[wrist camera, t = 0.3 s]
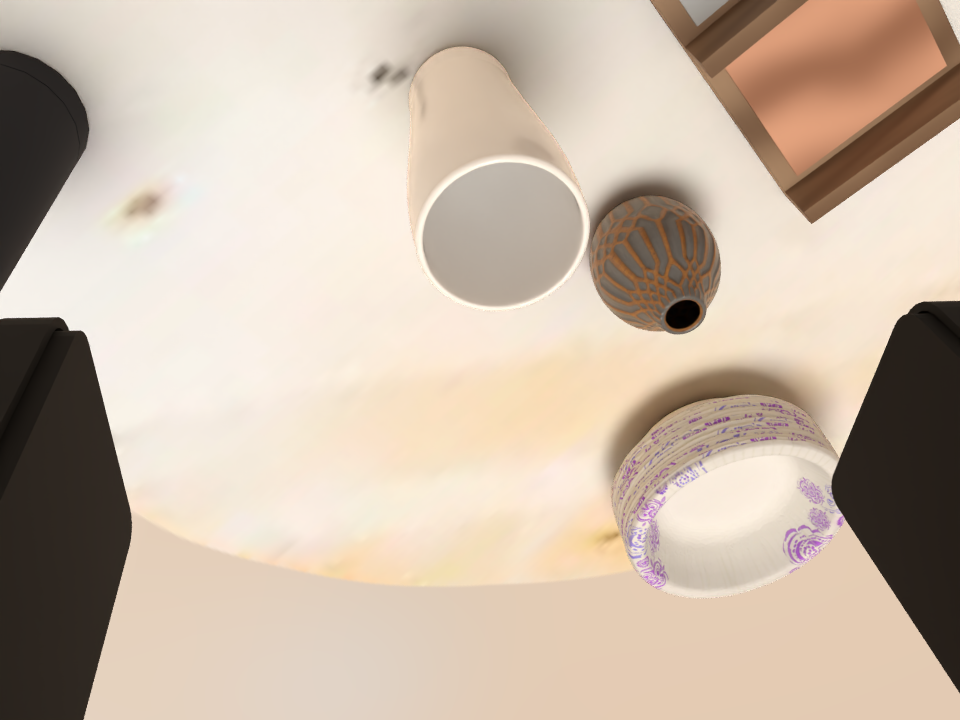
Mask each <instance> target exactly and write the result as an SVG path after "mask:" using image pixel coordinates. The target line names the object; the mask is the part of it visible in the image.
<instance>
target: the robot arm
mask: <svg viewBox="0 0 960 720" xmlns="http://www.w3.org/2000/svg"><path fill="white" fill-rule="evenodd" d="M831 489H832V495H833V499H834V501H835V503H836V505H837V507H838V509H839V510H840V512H841V513H842V515H843V516H844V518H845V519H846V521H847V522H848V524H849V525H850V527H851V528H852V530H853V531H854V533H855V535H856V536H857V538H858V539H859V541H860V542H861V544H862V545H863V547H864V548H865V550H866V551H867V553H868V554H869V556H870V557H871V559H872V560H873V562H874V563H875V565H876V566H877V568H878V570H879V571H880V573H881V574H882V576H883V577H884V578H885V580H886V582H887V583H888V585H889V586H890V587H891V589H892V591H893V592H894V594H895V595H896V597H897V598H898V600H899V601H900V603H901V604H902V606H903V608H904V609H905V611H906V612H907V614H908V615H909V617H910V618H911V620H912V621H913V623H914V624H915V626H916V627H917V629H918V630H919V632H920V633H921V635H922V636H923V638H924V639H925V641H926V642H927V644H928V645H929V647H930V649H931V650H932V651H933V653H934V655H935V656H936V658H937V659H938V661H939V662H940V664H941V665H942V667H943V668H944V670H945V671H946V673H947V674H948V676H949V677H950V679H951V681H952V682H953V684H954V685H955V686H956V688H957V689H958V691H959V693H960V301H936V302H921V303H918V304H916V305H915V306H914V307H913V308H912V309H910V311H909V313H908V314H906V315H903V316H902V317H901V318H900V319H899V320H898V321H897V323H896V325H895V327H894V329H893V331H892V334H891V336H890V339H889V341H888V343H887V346H886V348H885V351H884V353H883V355H882V358H881V360H880V363H879V365H878V367H877V370H876V372H875V375H874V377H873V379H872V382H871V384H870V387H869V389H868V392H867V394H866V396H865V399H864V401H863V404H862V406H861V408H860V411H859V413H858V416H857V418H856V420H855V423H854V425H853V428H852V430H851V432H850V435H849V437H848V440H847V442H846V444H845V447H844V449H843V452H842V454H841V457H840V459H839V461H838V464H837V466H836V469H835V471H834V473H833V477H832V482H831ZM131 532H132V521H131V511H130V507H129V503H128V499H127V495H126V491H125V487H124V483H123V479H122V475H121V471H120V467H119V463H118V459H117V455H116V451H115V447H114V443H113V438H112V434H111V430H110V426H109V422H108V418H107V414H106V410H105V406H104V402H103V398H102V394H101V390H100V386H99V382H98V378H97V374H96V370H95V366H94V362H93V358H92V354H91V350H90V346H89V343H88V340H87V337H86V335H85V334H84V332H82V331H69V329H68V326H67V325H66V323H65V322H64V320H63V319H61V318H59V317H52V318H4V319H0V720H83V719H84V715H85V711H86V708H87V704H88V700H89V697H90V693H91V689H92V685H93V682H94V678H95V674H96V670H97V667H98V663H99V659H100V655H101V651H102V647H103V644H104V640H105V636H106V633H107V629H108V625H109V621H110V617H111V613H112V610H113V606H114V602H115V599H116V595H117V591H118V587H119V584H120V580H121V576H122V572H123V568H124V565H125V560H126V557H127V553H128V549H129V546H130V541H131Z"/></svg>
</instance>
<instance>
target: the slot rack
mask: <svg viewBox="0 0 960 720" xmlns="http://www.w3.org/2000/svg"><path fill="white" fill-rule="evenodd" d="M650 1H651V3H652V4H653V5H654V7H655V8H656V10H657V11H658V13H659V14H660V15H661V17H662V18H663V20H664V21H665V23H666V24H667V26H668V27H669V28H670V30H671V31H672V33H673V34H674V36H675V37H676V39H677V40H678V41H679V43H680V44H681V46H682V47H683V49H684V50H685V52H686V53H687V54H688V56H689V57H690V59H691V60H692V62H693V63H694V65H695V66H696V67H697V69H698V70H699V72H700V73H701V75H702V76H703V77H704V79H705V80H706V82H707V83H708V85H709V86H710V88H711V89H712V90H713V92H714V93H715V95H716V96H717V98H718V99H719V101H720V102H721V103H722V105H723V106H724V108H725V109H726V111H727V112H728V114H729V115H730V116H731V118H732V119H733V121H734V122H735V124H736V125H737V127H738V128H739V129H740V131H741V132H742V134H743V135H744V137H745V138H746V140H747V141H748V142H749V144H750V145H751V147H752V148H753V150H754V151H755V152H756V154H757V155H758V157H759V158H760V160H761V161H762V163H763V164H764V165H765V167H766V168H767V170H768V171H769V173H770V174H771V176H772V177H773V178H774V180H775V181H776V183H777V184H778V186H779V187H780V189H781V190H782V191H783V193H784V194H785V196H786V197H787V198H788V199H789V200H790V201H791V202H792V203H793V204H794V205H795V207H796V208H797V209H798V210H799V211H800V212H801V213H802V214H803V215H804V216H805V217H806V218H807V220H808V221H809V222H810V223H811V224H812V223H814V222H815V221H817V220H818V219H819V218H821V217H822V216H824V215H825V214H826V213H828V212H829V211H831V210H832V209H833V208H835V207H836V206H838V205H839V204H840V203H842V202H843V201H845V200H846V199H847V198H849V197H850V196H852V195H853V194H854V193H856V192H857V191H859V190H860V189H861V188H863V187H864V186H866V185H867V184H868V183H870V182H871V181H873V180H874V179H875V178H877V177H878V176H880V175H881V174H882V173H884V172H885V171H887V170H888V169H889V168H891V167H892V166H894V165H895V164H896V163H898V162H899V161H901V160H902V159H903V158H905V157H906V156H908V155H909V154H910V153H912V152H913V151H915V150H916V149H917V148H919V147H920V146H922V145H923V144H924V143H926V142H927V141H929V140H930V139H931V138H933V137H934V136H936V135H937V134H938V133H940V132H941V131H943V130H944V129H945V128H947V127H948V126H949V125H951V124H952V123H954V122H955V121H956V120H958V119H959V118H960V45H959V42H958V40H957V38H956V36H955V34H954V32H953V29H952V27H951V25H950V23H949V21H948V18H947V16H946V14H945V12H944V10H943V8H942V5H941V3H940V1H939V0H650Z"/></svg>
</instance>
